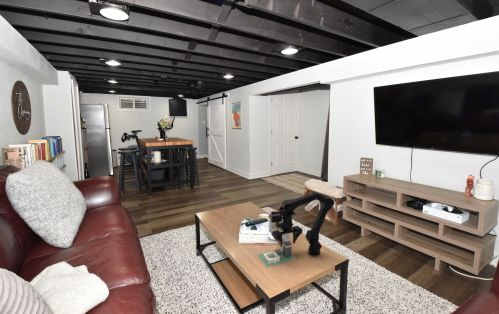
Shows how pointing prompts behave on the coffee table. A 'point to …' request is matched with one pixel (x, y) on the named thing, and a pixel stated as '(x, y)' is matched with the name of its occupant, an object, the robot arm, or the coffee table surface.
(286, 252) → the black plug
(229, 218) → the coffee table surface
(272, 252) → the circuit board
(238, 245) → the coffee table surface
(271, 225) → the cracker box
